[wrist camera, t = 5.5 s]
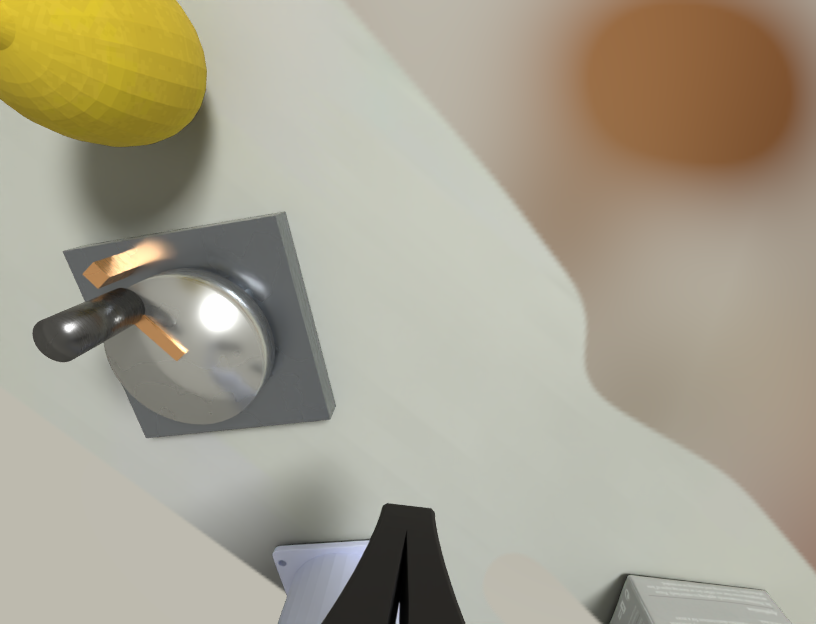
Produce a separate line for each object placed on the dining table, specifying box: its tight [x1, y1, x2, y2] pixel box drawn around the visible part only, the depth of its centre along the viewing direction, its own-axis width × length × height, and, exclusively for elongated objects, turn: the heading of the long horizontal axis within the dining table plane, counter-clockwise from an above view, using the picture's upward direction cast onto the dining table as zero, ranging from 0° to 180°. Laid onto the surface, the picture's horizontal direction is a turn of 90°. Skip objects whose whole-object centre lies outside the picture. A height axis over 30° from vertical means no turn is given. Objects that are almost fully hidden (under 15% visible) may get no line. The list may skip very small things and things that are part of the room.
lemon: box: [0, 0, 207, 147], centre depth 14 cm, size 6×6×8 cm
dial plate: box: [63, 212, 336, 438], centre depth 20 cm, size 10×10×3 cm
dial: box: [33, 268, 275, 424], centre depth 18 cm, size 7×7×5 cm
